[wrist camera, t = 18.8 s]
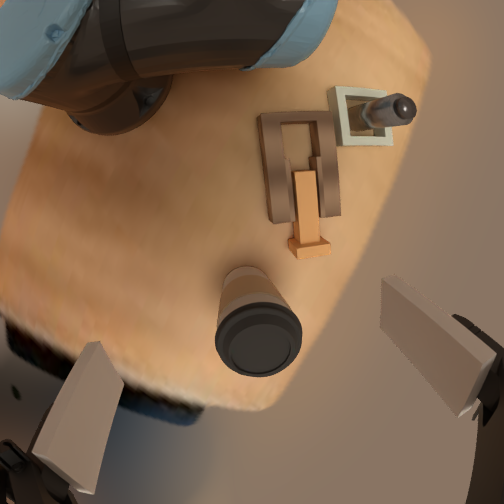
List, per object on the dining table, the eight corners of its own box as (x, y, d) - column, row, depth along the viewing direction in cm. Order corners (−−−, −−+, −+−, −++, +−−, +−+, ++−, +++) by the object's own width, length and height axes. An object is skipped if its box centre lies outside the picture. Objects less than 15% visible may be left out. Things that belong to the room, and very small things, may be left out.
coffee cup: (260, 247, 38) (287, 297, 24) (288, 298, 41) (321, 362, 26) (202, 278, 38) (196, 342, 24) (234, 325, 41) (243, 398, 27)
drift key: (281, 172, 35) (290, 173, 31) (313, 169, 35) (326, 170, 31) (288, 248, 38) (297, 259, 34) (319, 244, 38) (330, 254, 34)
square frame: (326, 90, 32) (335, 85, 29) (375, 94, 33) (386, 90, 30) (333, 146, 35) (343, 145, 32) (382, 146, 35) (393, 145, 32)
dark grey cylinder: (342, 106, 33) (392, 89, 21) (364, 108, 33) (417, 93, 22) (346, 131, 34) (397, 122, 23) (367, 131, 34) (422, 125, 23)
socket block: (257, 117, 32) (260, 113, 30) (323, 114, 33) (331, 111, 30) (268, 219, 37) (273, 224, 34) (332, 211, 37) (341, 215, 34)
